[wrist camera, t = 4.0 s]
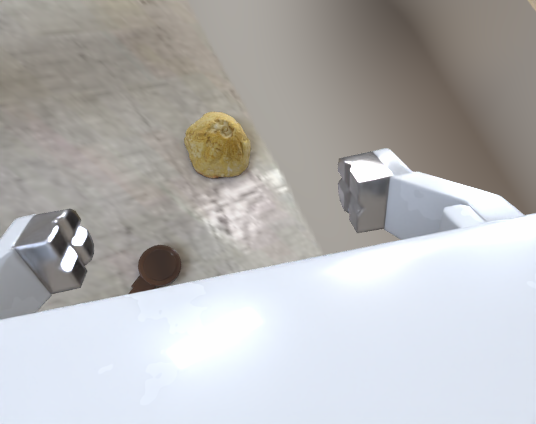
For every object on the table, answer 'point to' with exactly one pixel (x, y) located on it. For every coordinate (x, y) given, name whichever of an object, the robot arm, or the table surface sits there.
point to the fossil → (217, 146)
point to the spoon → (157, 268)
